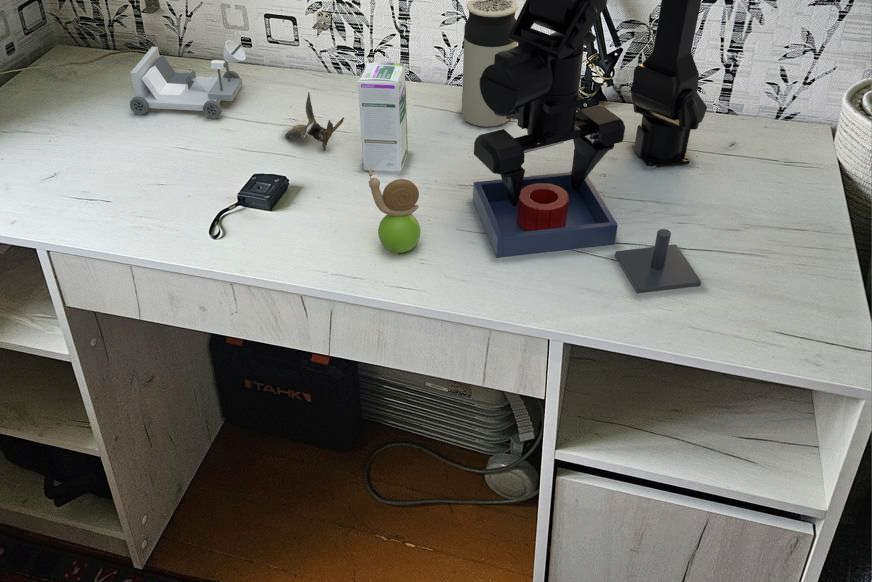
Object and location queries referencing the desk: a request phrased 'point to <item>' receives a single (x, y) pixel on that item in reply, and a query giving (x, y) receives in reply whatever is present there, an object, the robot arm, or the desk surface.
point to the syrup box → (383, 116)
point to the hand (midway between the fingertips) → (544, 196)
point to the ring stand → (657, 266)
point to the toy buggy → (184, 84)
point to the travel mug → (484, 53)
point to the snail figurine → (397, 213)
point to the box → (582, 230)
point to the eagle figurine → (313, 127)
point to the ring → (542, 207)
